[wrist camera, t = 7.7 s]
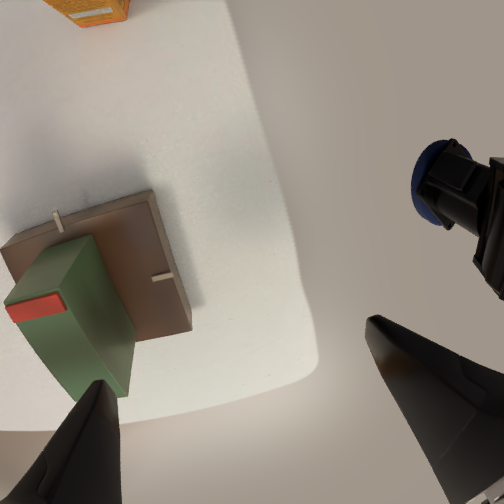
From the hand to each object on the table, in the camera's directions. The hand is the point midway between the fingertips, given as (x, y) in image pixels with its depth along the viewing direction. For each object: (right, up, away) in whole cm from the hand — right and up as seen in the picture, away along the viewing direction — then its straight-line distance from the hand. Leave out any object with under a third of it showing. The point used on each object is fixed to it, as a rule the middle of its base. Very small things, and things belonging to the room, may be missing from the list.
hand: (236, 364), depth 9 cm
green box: (-10, +1, +9) cm, 14 cm away
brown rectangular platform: (-11, +2, +12) cm, 16 cm away
